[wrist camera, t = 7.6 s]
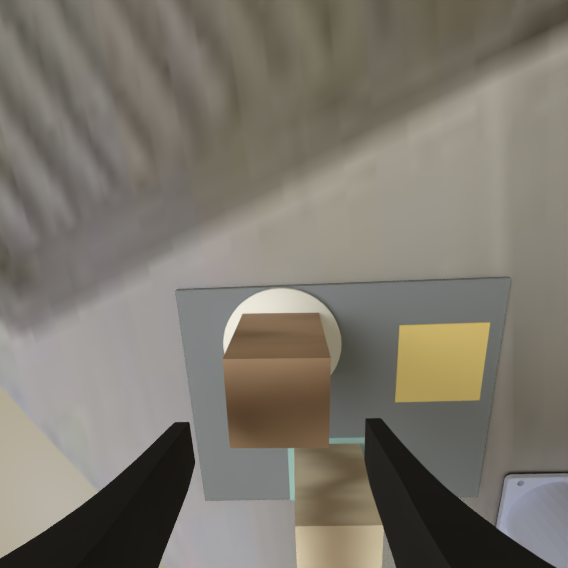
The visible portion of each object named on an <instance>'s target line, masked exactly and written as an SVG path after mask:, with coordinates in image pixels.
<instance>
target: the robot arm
mask: <svg viewBox="0 0 568 568" xmlns="http://www.w3.org/2000/svg"><path fill="white" fill-rule="evenodd" d="M364 461H365V466H366V471H367V475H368V480H369V484H370V488H371V491H372V494H373V498H374V501H375V504H376V507H377V510H378V513H379V516H380V519H381V522H382V525H383V528H384V531H385V534H386V537H387V540H388V543H389V546H390V549H391V552H392V555H393V558H394V562H395V565H396V568H568V473H558V474H510V475H507V476H506V477H505V480H504V485H503V491H502V496H501V502H500V508H499V513H498V519H497V524H496V527H495V526H493V525H492V524H491V523H489V522H488V521H487V520H485V519H484V518H483V517H481V516H480V515H479V514H477V513H476V512H475V511H474V510H472V509H471V508H470V507H468V506H467V505H466V504H465V503H464V502H462V501H461V500H460V499H459V498H458V497H457V496H455V495H454V494H453V493H452V492H451V491H450V490H448V489H447V488H446V487H445V486H444V485H443V484H442V483H441V482H440V481H439V480H438V479H437V478H436V477H435V476H434V475H432V474H431V473H430V472H429V471H428V470H427V469H426V468H425V467H424V466H423V465H422V464H421V463H420V461H419V460H418V459H417V458H416V457H415V456H414V455H413V454H412V453H411V452H410V451H409V450H408V449H407V448H406V446H405V445H404V444H403V443H402V442H401V441H400V440H399V438H398V437H397V436H396V435H395V434H394V433H393V432H392V430H391V429H390V428H389V427H388V426H387V424H386V423H385V422H384V421H383V420H382V419H381V418H365V451H364ZM194 466H195V458H194V451H193V444H192V437H191V431H190V424H189V422H175V423H174V424H173V425H171V426H170V427H169V428H168V429H167V430H166V431H165V432H164V433H163V434H162V435H161V436H160V437H159V438H158V439H157V440H156V441H155V442H154V443H153V444H152V445H151V446H150V447H149V448H148V449H147V450H146V451H145V452H144V453H143V454H142V455H141V456H139V457H138V458H137V459H136V460H135V461H134V462H133V463H132V464H131V465H130V466H129V467H127V468H126V469H125V470H124V471H123V472H122V473H121V474H120V475H118V476H117V477H116V478H115V479H114V480H113V481H112V482H110V483H109V484H108V485H107V486H106V487H104V488H103V489H102V490H101V491H99V492H98V493H97V494H96V495H94V496H93V497H92V498H91V499H89V500H88V501H87V502H85V503H84V504H83V505H82V506H80V507H79V508H77V509H76V510H75V511H73V512H72V513H70V514H69V515H67V516H66V517H65V518H63V519H62V520H60V521H59V522H57V523H56V524H54V525H53V526H51V527H50V528H49V529H47V530H46V531H44V532H43V533H41V534H40V535H38V536H36V537H35V538H33V539H32V540H30V541H28V542H27V543H25V544H24V545H22V546H20V547H19V548H17V549H15V550H14V551H12V552H11V553H9V554H7V555H6V556H4V557H2V558H0V568H158V567H159V564H160V561H161V559H162V556H163V553H164V551H165V548H166V546H167V543H168V540H169V538H170V535H171V533H172V530H173V528H174V525H175V523H176V520H177V517H178V515H179V512H180V510H181V507H182V505H183V502H184V499H185V497H186V494H187V491H188V488H189V485H190V481H191V477H192V474H193V470H194Z"/></svg>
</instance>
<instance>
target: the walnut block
mask: <svg viewBox="0 0 568 568" xmlns="http://www.w3.org/2000/svg"><path fill="white" fill-rule="evenodd" d="M222 360H223V372H224V384H225V396H226V408H227V420H228V431H229V443H230V448H329V427H330V374H331V357H330V353H329V349H328V346H327V342H326V338H325V334H324V330H323V327H322V323H321V319H320V315H319V313H252V314H242V316H241V318H240V321H239V323H238V325H237V327H236V330H235V332H234V334H233V336H232V339H231V341H230V343H229V345H228V348H227V350H226V352H225V354H224V357H223V359H222Z"/></svg>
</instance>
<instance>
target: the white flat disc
mask: <svg viewBox="0 0 568 568" xmlns="http://www.w3.org/2000/svg"><path fill="white" fill-rule="evenodd" d="M252 313H319V315H320V319H321V323H322V327H323V330H324V334H325V338H326V342H327V346H328V349H329V353H330V357H331V374H332V373H333V371H334V369H335V368H336V366H337V363H338V361H339V358H340V354H341V335H340V330H339V327H338V325H337V322H336V320H335V318H334V316H333V314H332V313H331V311H330V310H329V309H328V307H327V306H326V305H325V304H324V303H323V302H322V301H320V300H319V299H318V298H317V297H315V296H313V295H312V294H310V293H307V292H305V291H303V290H299V289H296V288H290V287H274V288H268V289H264V290H261V291H259V292H256V293H254V294H253V295H251V296H249V297H248V298H246V299H245V300H244V301H243V302H242V303H240V304H239V305H238V307H237V308H236V309H235V310H234V312H233V313H232V315H231V317H230V319H229V321H228V323H227V325H226V328H225V332H224V339H223V348H224V354H225V352H226V350H227V348H228V345H229V343H230V341H231V339H232V336H233V334H234V332H235V330H236V327H237V325H238V323H239V321H240V318H241V316H242V314H252ZM331 374H330V375H331Z"/></svg>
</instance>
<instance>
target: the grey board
mask: <svg viewBox="0 0 568 568" xmlns="http://www.w3.org/2000/svg"><path fill="white" fill-rule="evenodd" d="M510 283H511V278H509V277H487V278H461V279H435V280H408V281H382V282H356V283H329V284H303V285H277V286H250V287H224V288H198V289H177V290H176V291H175V293H176V300H177V307H178V314H179V321H180V328H181V335H182V342H183V349H184V356H185V363H186V370H187V377H188V383H189V390H190V397H191V404H192V411H193V418H194V425H195V432H196V439H197V446H198V453H199V460H200V467H201V474H202V481H203V488H204V495H205V501H221V500H287V499H290V501H295V480H294V448H230V443H229V431H228V420H227V408H226V396H225V384H224V372H223V360H222V359H223V357H224V348H223V339H224V332H225V328H226V325H227V323H228V321H229V319H230V317H231V315H232V313H233V312H234V310H235V309H236V308H237V307H238V305H239V304H240V303H242V302H243V301H244V300H245V299H246V298H248V297H249V296H251V295H253V294H254V293H256V292H259V291H261V290H264V289H268V288H274V287H290V288H296V289H299V290H303V291H305V292H307V293H310V294H312V295H313V296H315V297H317V298H318V299H319V300H320V301H322V302H323V303H324V304H325V305H326V306H327V307H328V309H329V310H330V311H331V313H332V314H333V316H334V318H335V320H336V322H337V325H338V327H339V330H340V335H341V354H340V358H339V361H338V363H337V366H336V368H335V369H334V371H333V373H332V374H331V375H330V427H329V444H339V443H360V446H361V449H362V452H363V456H364V451H365V418H381V419H382V420H383V421H384V422H385V423H386V424H387V426H388V427H389V428H390V429H391V430H392V432H393V433H394V434H395V435H396V436H397V437H398V438H399V440H400V441H401V442H402V443H403V444H404V445H405V446H406V448H407V449H408V450H409V451H410V452H411V453H412V454H413V455H414V456H415V457H416V458H417V459H418V460H419V461H420V463H421V464H422V465H423V466H424V467H425V468H426V469H427V470H428V471H429V472H430V473H431V474H432V475H434V476H435V477H436V478H437V479H438V480H439V481H440V482H441V483H442V484H443V485H444V486H445V487H446V488H447V489H448V490H450V491H451V492H452V493H453V494H454V495H455V496H457V497H478V491H479V484H480V478H481V471H482V465H483V458H484V452H485V445H486V439H487V432H488V426H489V420H490V413H491V407H492V400H493V394H494V387H495V381H496V374H497V368H498V361H499V355H500V348H501V342H502V335H503V329H504V322H505V316H506V309H507V303H508V296H509V290H510Z"/></svg>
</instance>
